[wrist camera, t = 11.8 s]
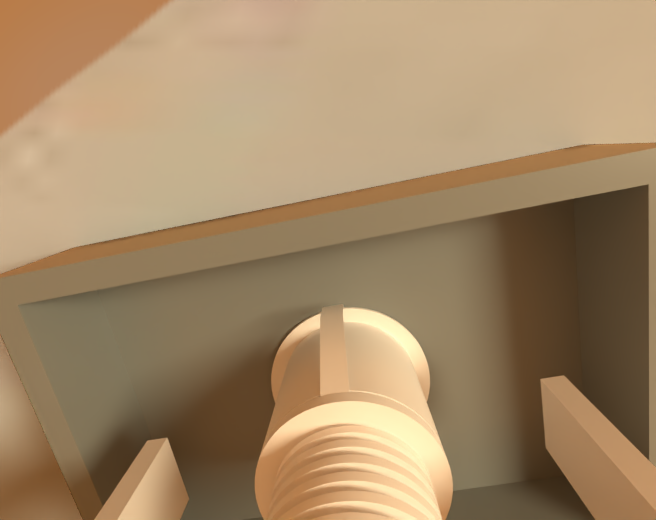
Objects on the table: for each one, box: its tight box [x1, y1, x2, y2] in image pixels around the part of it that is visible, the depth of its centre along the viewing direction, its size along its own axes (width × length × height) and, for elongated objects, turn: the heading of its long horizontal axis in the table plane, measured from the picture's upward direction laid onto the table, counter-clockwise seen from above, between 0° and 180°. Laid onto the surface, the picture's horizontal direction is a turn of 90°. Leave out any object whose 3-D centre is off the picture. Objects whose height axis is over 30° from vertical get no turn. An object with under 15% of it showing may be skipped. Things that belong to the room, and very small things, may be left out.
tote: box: [0, 143, 656, 520], centre depth 17 cm, size 22×16×5 cm
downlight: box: [255, 304, 453, 520], centre depth 13 cm, size 8×7×10 cm
